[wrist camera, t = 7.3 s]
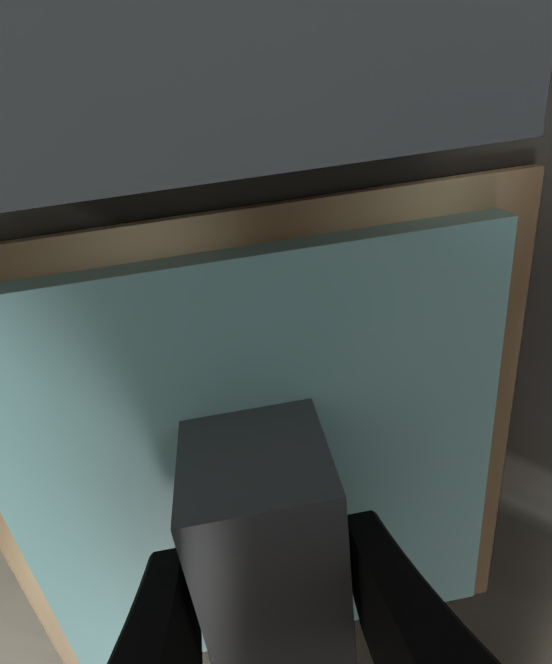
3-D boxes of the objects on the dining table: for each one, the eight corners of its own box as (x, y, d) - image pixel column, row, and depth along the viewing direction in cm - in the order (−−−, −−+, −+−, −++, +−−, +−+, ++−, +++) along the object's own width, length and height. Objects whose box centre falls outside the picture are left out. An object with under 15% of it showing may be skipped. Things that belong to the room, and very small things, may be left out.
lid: (496, 207, 10) (640, 262, 7) (461, 573, 16) (531, 704, 12) (-83, 294, 9) (-245, 405, 6) (92, 648, 15) (59, 810, 11)
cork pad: (536, 163, 10) (544, 165, 10) (481, 584, 17) (486, 591, 16) (-147, 262, 9) (-157, 267, 9) (74, 668, 16) (71, 678, 15)
